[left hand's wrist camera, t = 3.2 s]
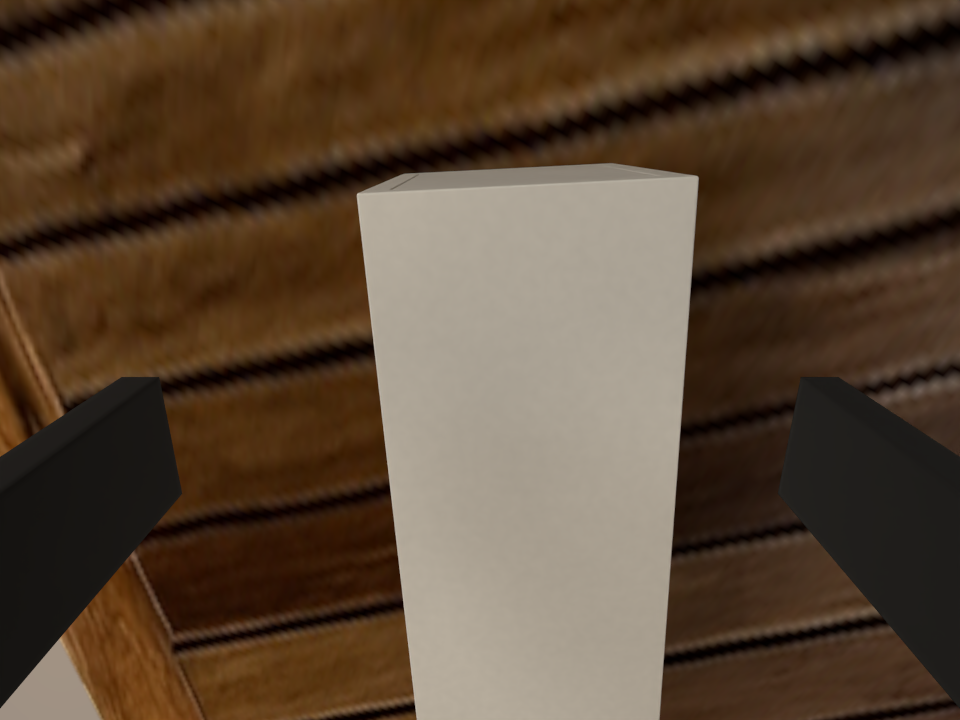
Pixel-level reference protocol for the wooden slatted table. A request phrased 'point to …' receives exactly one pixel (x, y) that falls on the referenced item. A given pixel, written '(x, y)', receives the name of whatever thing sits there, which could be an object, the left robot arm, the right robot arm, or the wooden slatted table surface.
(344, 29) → the wooden slatted table surface
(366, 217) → the cabinet
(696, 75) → the wooden slatted table surface
